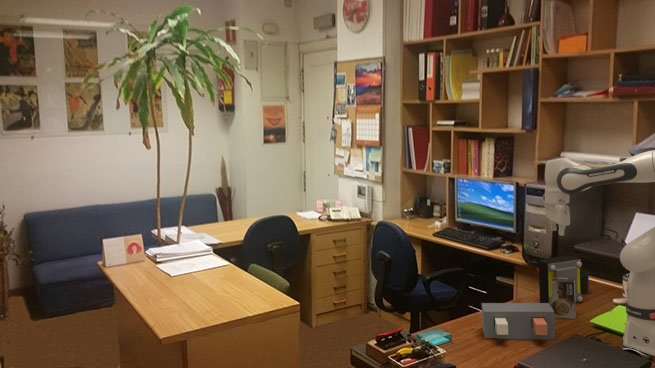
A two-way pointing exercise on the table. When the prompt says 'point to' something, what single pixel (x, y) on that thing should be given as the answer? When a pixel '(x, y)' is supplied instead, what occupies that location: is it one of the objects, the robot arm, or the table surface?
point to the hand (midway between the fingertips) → (557, 232)
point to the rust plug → (539, 325)
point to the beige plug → (501, 325)
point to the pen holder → (584, 282)
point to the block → (517, 319)
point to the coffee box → (563, 297)
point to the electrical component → (558, 275)
